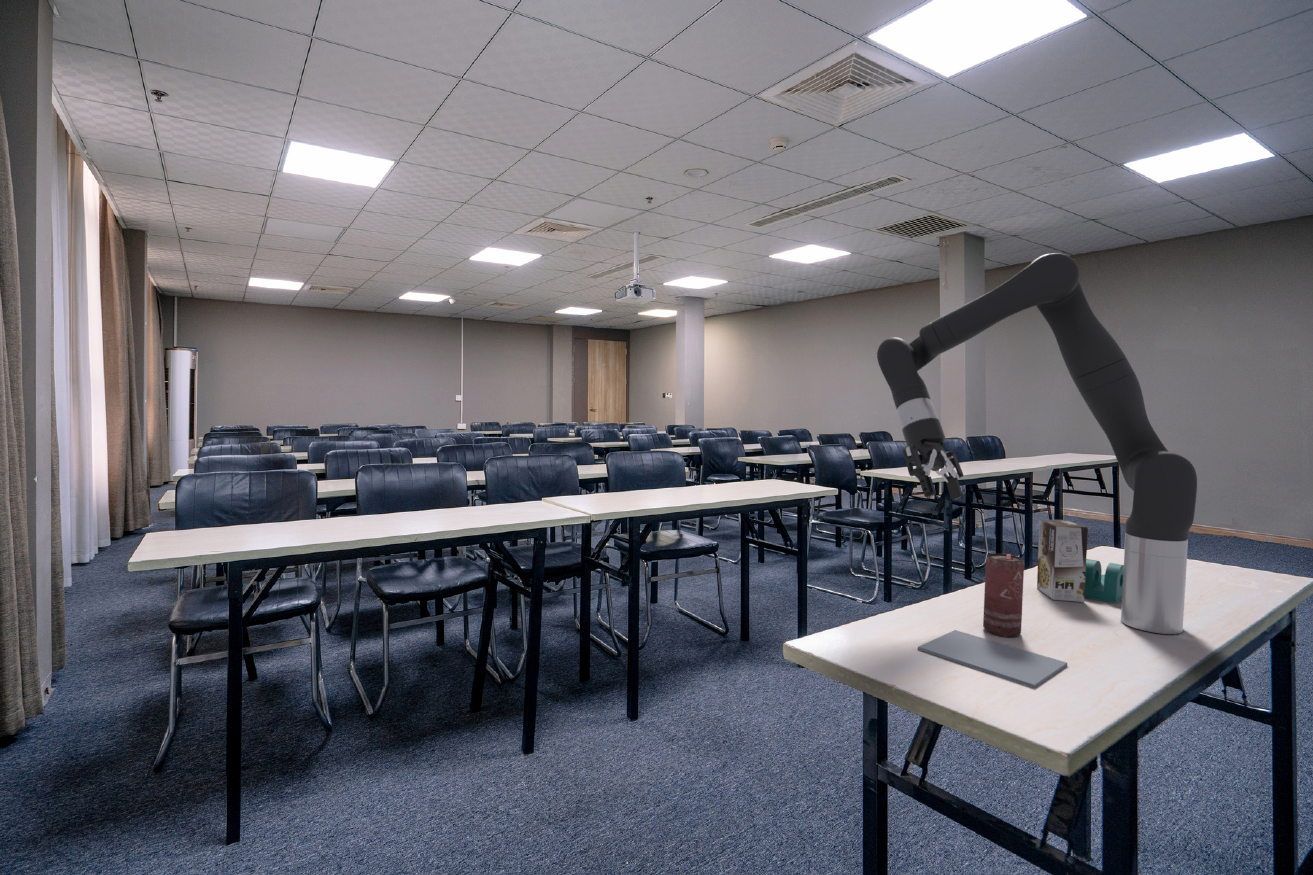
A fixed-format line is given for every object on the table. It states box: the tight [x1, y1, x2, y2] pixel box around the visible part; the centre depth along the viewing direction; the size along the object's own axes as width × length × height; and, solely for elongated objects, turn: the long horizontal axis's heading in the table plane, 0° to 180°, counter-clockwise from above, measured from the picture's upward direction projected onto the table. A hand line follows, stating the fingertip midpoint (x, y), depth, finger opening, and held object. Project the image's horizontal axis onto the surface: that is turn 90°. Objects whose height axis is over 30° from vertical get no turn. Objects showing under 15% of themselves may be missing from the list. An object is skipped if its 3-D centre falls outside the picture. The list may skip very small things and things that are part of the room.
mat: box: [917, 629, 1068, 689], centre depth 103 cm, size 13×18×1 cm
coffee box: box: [1036, 519, 1089, 603], centre depth 137 cm, size 9×6×16 cm
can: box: [982, 553, 1025, 638], centre depth 114 cm, size 6×6×14 cm
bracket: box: [1084, 558, 1124, 604], centre depth 140 cm, size 18×7×8 cm, turn 130°
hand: (944, 497), depth 125 cm, fingers open, 8 cm apart
